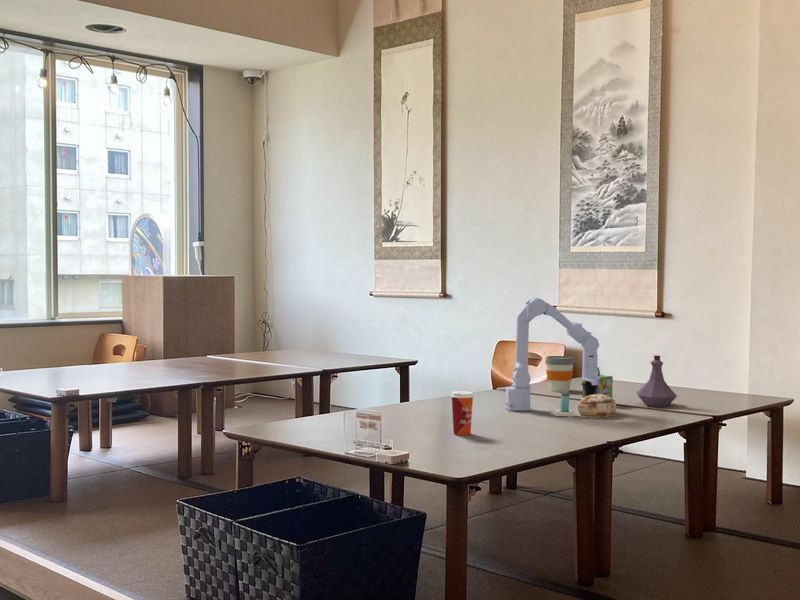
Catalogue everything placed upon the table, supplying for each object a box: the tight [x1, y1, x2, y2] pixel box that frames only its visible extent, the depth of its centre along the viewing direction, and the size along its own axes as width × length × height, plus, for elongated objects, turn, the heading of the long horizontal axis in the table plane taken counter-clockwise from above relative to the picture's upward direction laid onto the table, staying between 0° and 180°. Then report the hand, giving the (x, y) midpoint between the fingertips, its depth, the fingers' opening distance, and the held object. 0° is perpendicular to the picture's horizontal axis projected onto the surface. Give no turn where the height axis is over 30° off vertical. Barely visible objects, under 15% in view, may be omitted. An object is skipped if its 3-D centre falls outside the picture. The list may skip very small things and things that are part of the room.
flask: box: [635, 354, 678, 407], centre depth 369 cm, size 16×16×20 cm
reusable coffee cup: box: [545, 355, 575, 393], centre depth 410 cm, size 13×13×15 cm
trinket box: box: [577, 394, 617, 419], centre depth 345 cm, size 13×15×8 cm
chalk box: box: [582, 366, 614, 399], centre depth 372 cm, size 9×9×15 cm
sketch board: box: [549, 409, 575, 417], centre depth 345 cm, size 7×8×1 cm
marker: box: [560, 392, 571, 412], centre depth 345 cm, size 3×3×7 cm
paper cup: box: [450, 390, 474, 436], centre depth 306 cm, size 8×8×14 cm
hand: (589, 401), depth 357 cm, fingers closed
